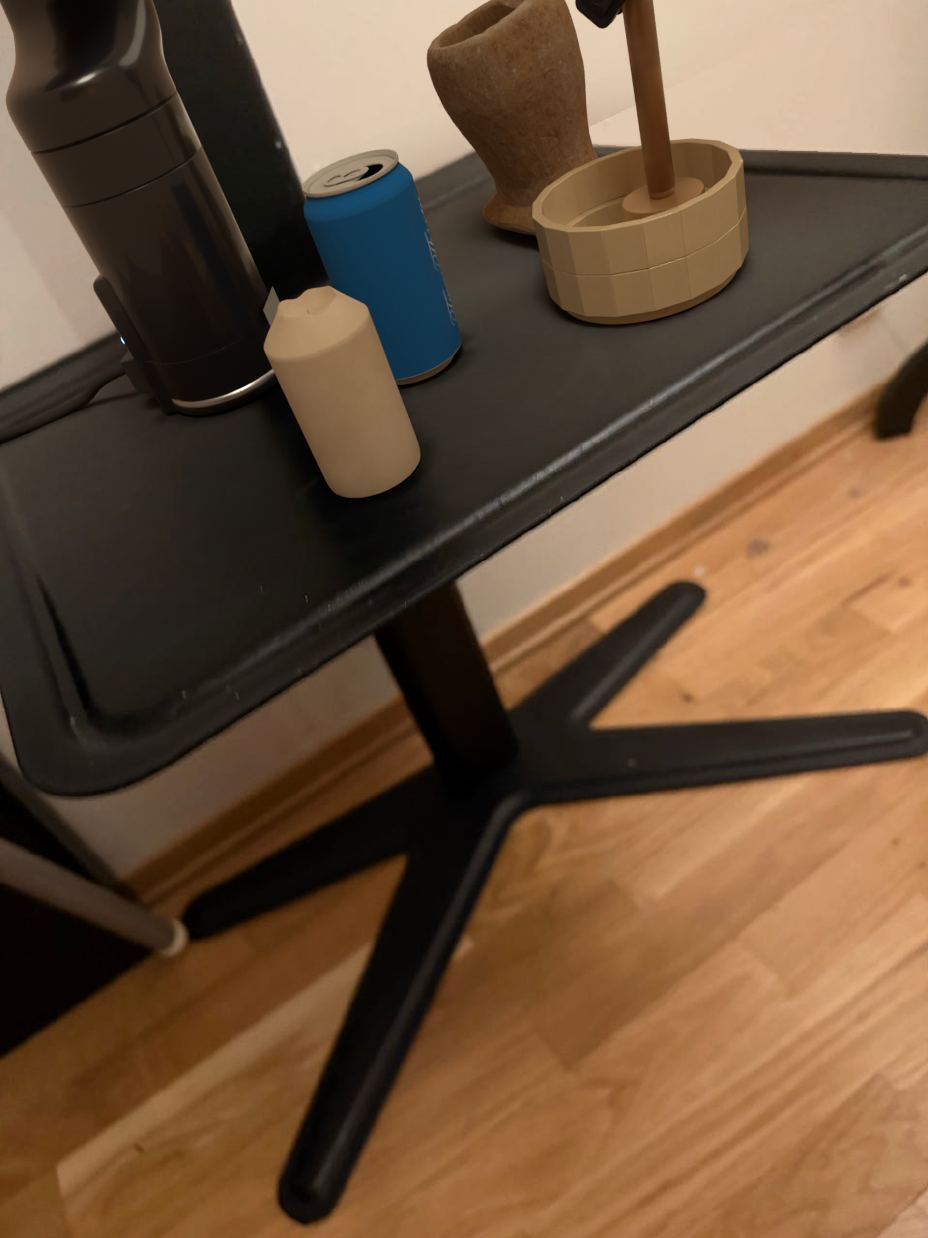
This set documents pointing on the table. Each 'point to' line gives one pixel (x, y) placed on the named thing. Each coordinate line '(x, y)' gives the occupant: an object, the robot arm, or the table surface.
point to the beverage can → (384, 258)
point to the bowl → (642, 235)
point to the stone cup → (516, 98)
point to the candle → (342, 392)
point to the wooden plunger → (652, 120)
